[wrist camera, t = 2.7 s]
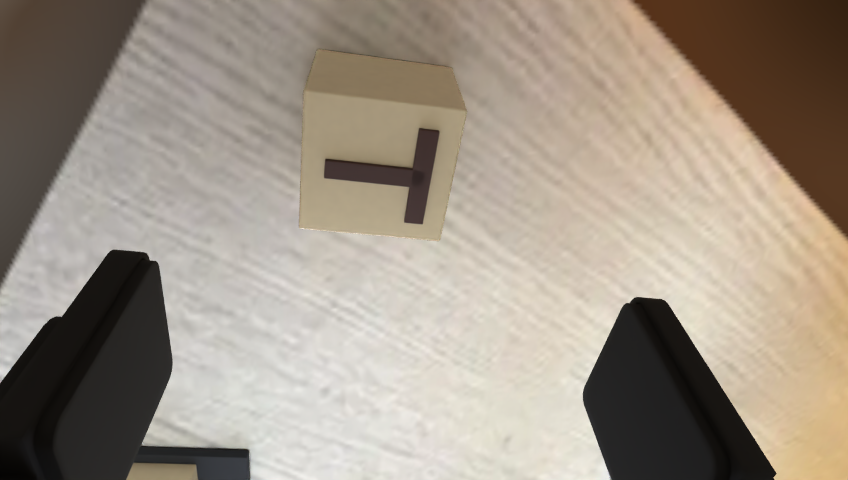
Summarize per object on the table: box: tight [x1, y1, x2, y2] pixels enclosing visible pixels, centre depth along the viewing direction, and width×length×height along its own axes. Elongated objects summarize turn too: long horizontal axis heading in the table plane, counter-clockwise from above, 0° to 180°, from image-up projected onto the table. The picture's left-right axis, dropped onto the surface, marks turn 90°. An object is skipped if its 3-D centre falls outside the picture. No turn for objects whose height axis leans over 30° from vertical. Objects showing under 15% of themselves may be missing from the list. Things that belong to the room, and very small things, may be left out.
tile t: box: [299, 49, 467, 241], centre depth 18 cm, size 5×5×4 cm
